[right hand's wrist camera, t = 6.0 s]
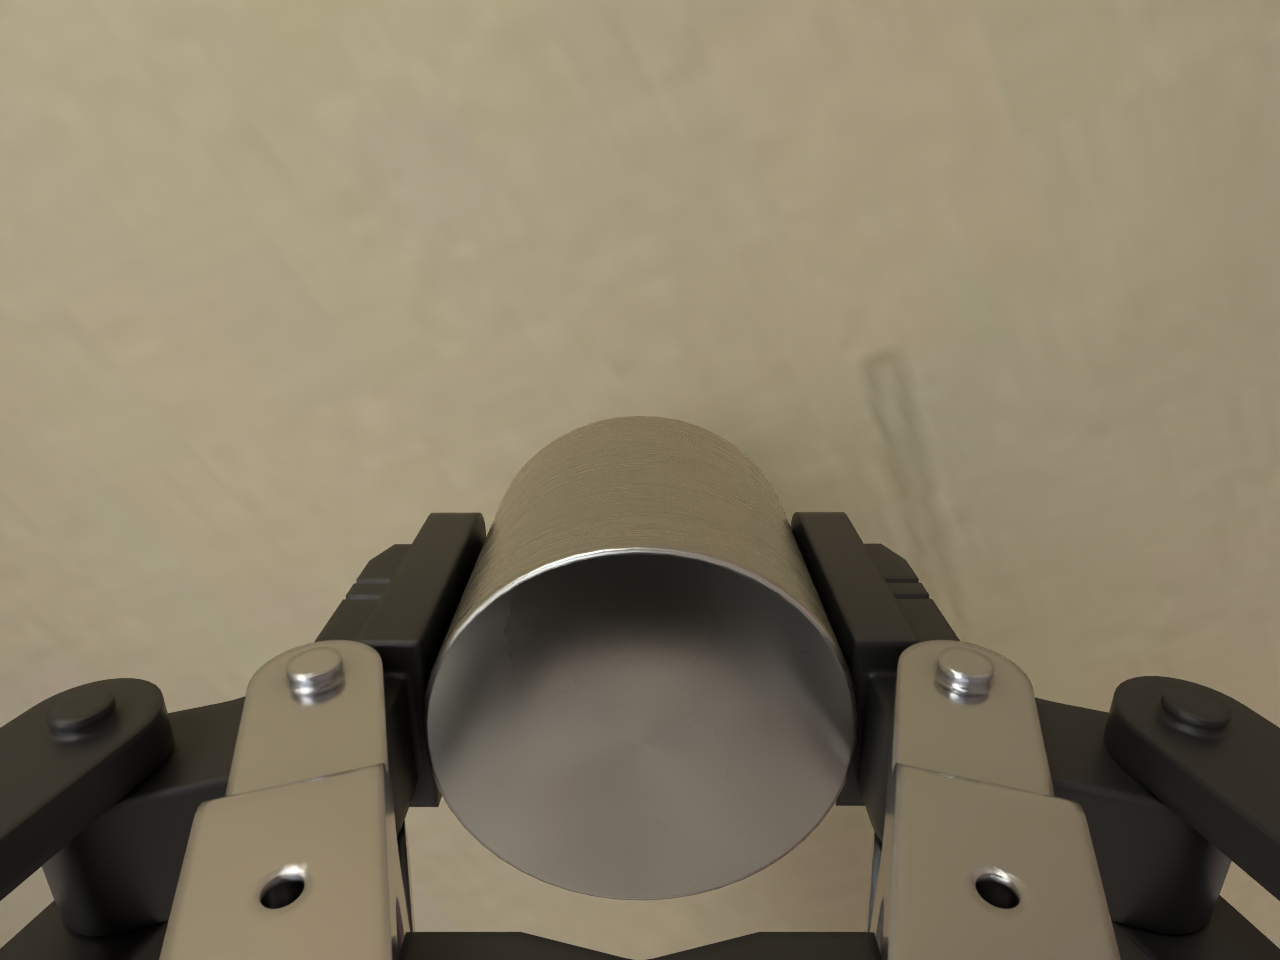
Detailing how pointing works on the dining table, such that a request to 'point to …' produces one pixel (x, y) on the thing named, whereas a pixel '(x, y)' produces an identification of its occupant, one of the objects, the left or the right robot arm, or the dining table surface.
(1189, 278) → the dining table surface
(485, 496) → the dining table surface
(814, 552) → the right robot arm
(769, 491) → the tin
